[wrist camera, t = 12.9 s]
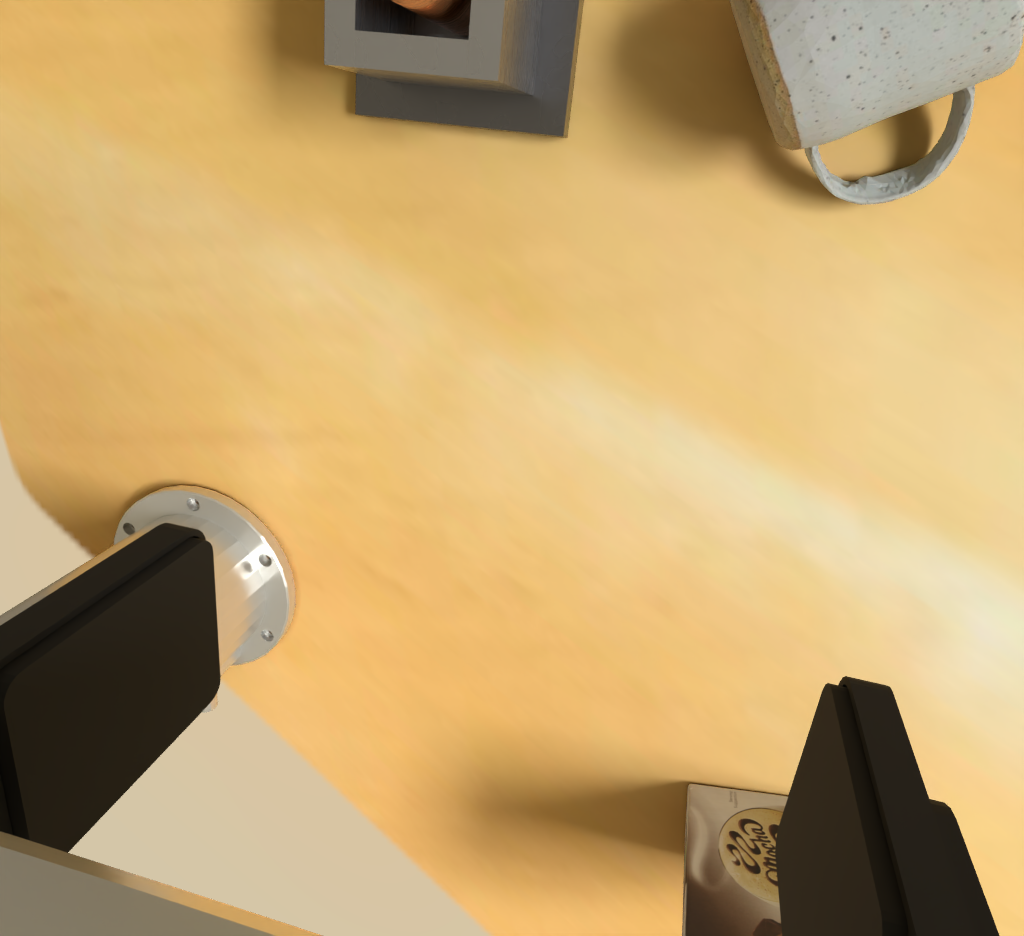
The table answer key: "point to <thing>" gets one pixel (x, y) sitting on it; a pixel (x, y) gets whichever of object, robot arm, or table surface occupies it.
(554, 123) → the post
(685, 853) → the coffee box
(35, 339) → the table surface
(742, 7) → the ceramic mug
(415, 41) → the grey square open box
